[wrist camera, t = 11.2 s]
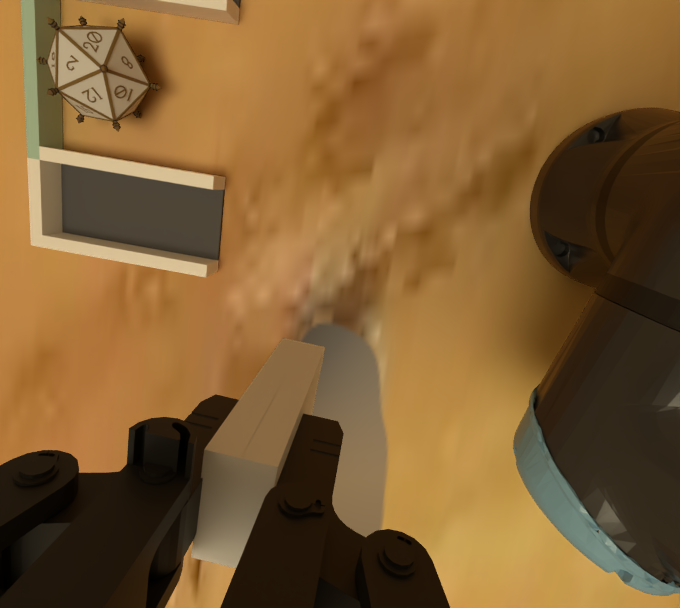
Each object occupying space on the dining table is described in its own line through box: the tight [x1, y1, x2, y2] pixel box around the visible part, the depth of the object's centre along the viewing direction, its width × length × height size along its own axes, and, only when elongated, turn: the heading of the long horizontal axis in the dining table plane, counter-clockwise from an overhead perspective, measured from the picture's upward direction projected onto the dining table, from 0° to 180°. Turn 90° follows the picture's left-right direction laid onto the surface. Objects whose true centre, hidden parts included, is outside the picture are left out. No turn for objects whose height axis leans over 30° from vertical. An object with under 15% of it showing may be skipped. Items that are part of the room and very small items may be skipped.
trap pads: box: [61, 0, 240, 260], centre depth 39 cm, size 16×29×1 cm, turn 171°
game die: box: [36, 16, 161, 132], centre depth 36 cm, size 9×8×10 cm
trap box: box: [21, 0, 240, 277], centre depth 38 cm, size 18×32×3 cm, turn 171°
